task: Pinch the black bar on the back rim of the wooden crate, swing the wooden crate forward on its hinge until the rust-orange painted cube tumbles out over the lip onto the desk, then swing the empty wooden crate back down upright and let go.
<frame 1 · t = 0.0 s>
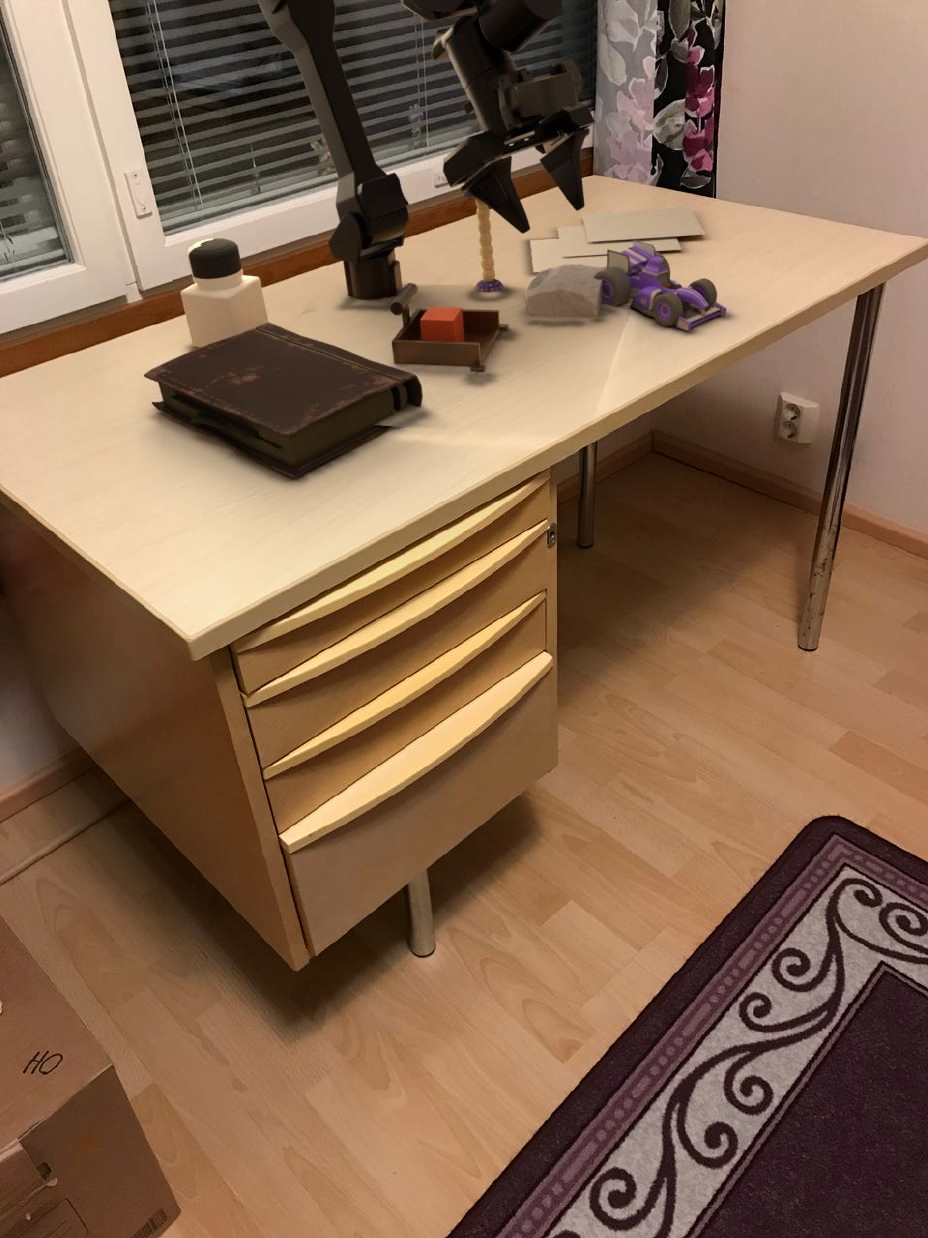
hand: (554, 219, 107), 15 cm above the table, tool tilted 35°, fingers open, 9 cm apart
paper stack: (615, 241, 146), on the table
hinge brackets: (448, 354, 118), on the table
medicine bottle: (232, 341, 127), on the table
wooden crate: (444, 322, 116), point 4 cm above the table, hinge at 0.0°, touching cube
stone block: (565, 307, 127), on the table, touching toy race car
diary: (284, 415, 109), on the table
toy lamp: (488, 294, 133), on the table
toy race car: (660, 310, 125), on the table, touching stone block
cube: (444, 346, 117), point 1 cm above the table, touching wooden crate
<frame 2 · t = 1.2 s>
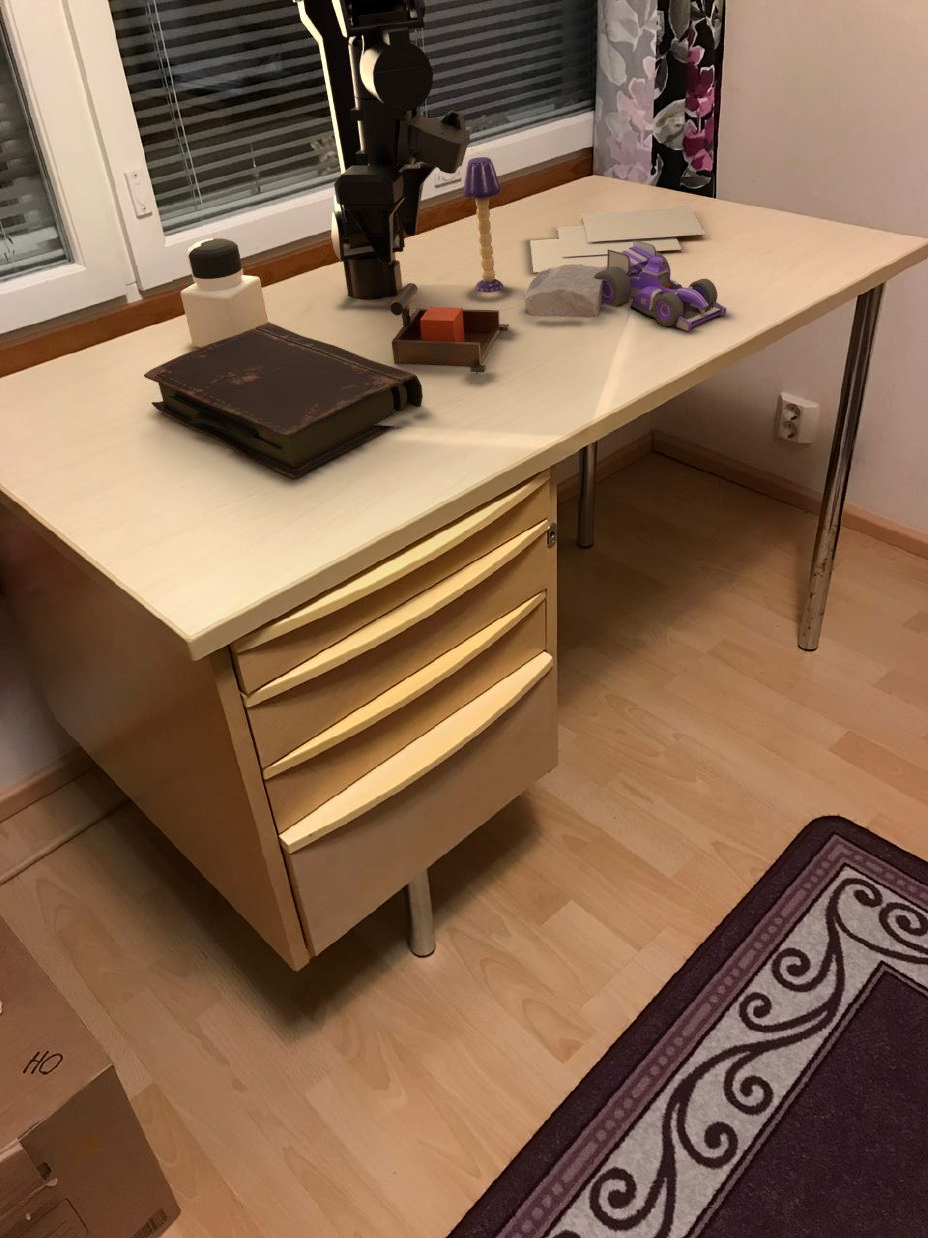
hand: (399, 248, 112), 12 cm above the table, tool pointing down, fingers open, 9 cm apart
nothing on the table moved.
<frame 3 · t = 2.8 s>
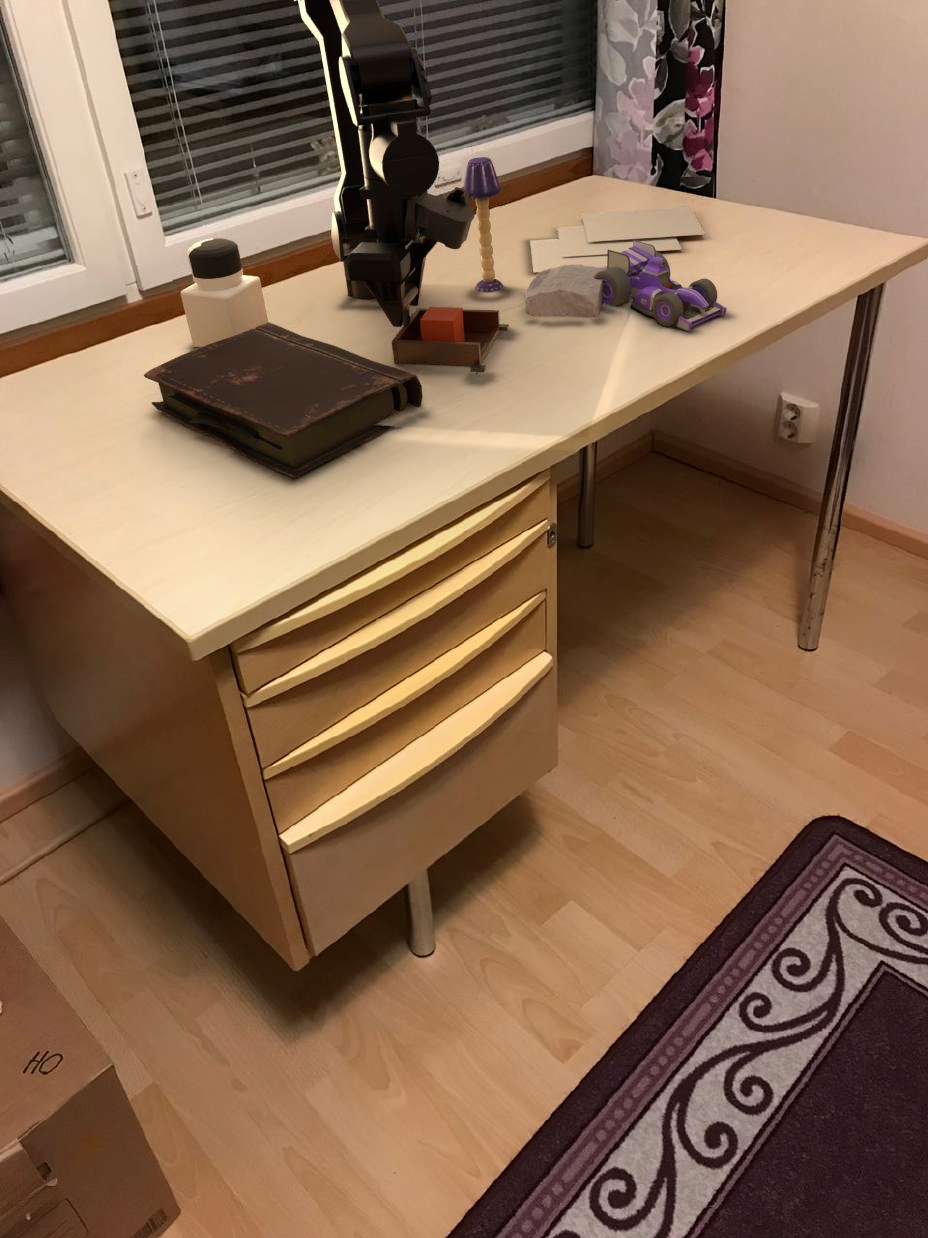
hand: (405, 315, 116), 5 cm above the table, tool pointing down, fingers closed on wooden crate, 6 cm apart
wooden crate: (444, 322, 116), point 4 cm above the table, hinge at 0.0°, touching cube, gripper
everything else where it was.
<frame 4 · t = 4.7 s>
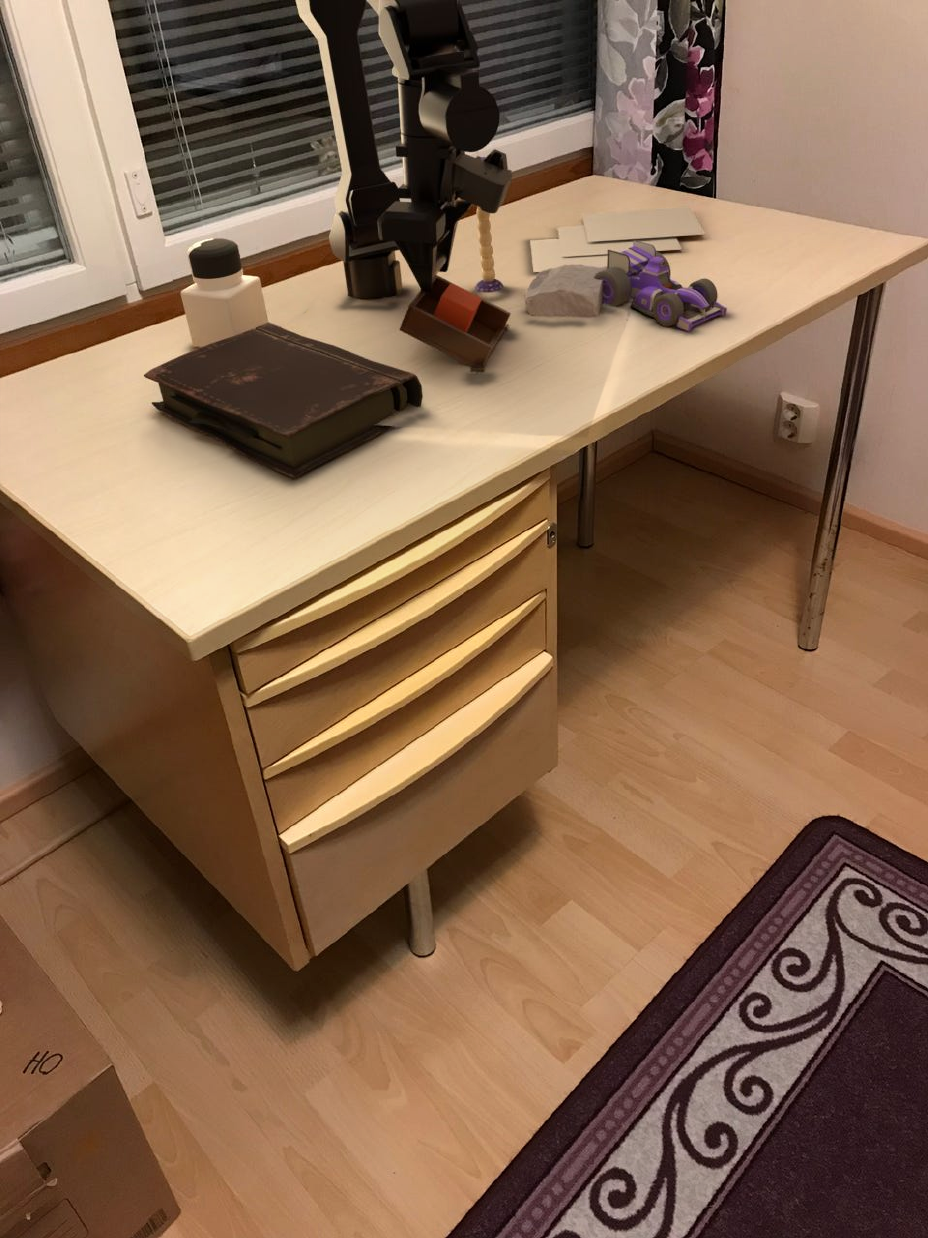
hand: (435, 281, 113), 9 cm above the table, tool pointing down, fingers closed on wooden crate, 6 cm apart
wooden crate: (460, 306, 114), point 6 cm above the table, hinge at 26.6°, touching cube, gripper
cube: (449, 326, 116), point 3 cm above the table, tilted 27°, touching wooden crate
everything else where it was.
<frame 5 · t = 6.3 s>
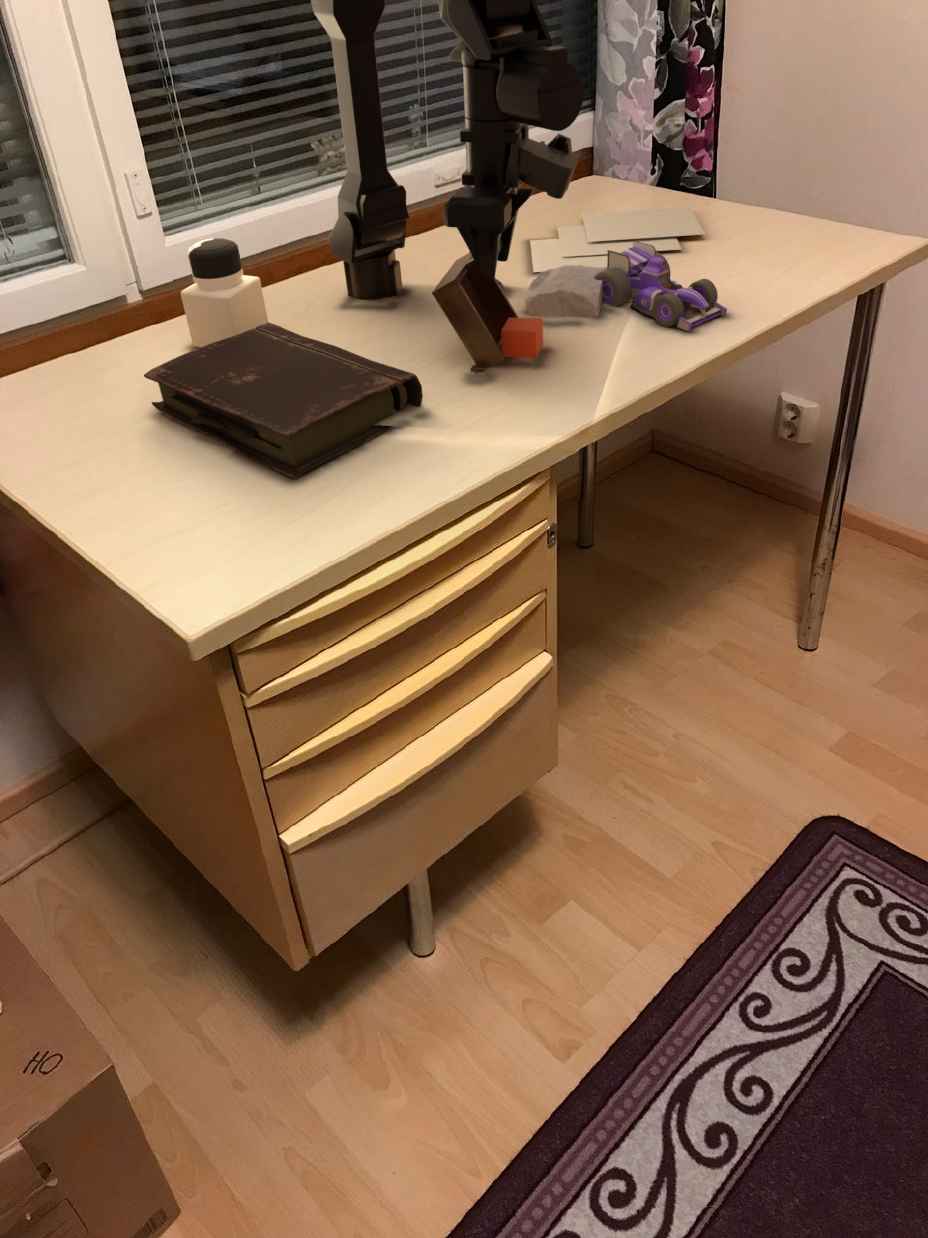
hand: (496, 270, 110), 10 cm above the table, tool pointing down, fingers closed on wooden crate, 6 cm apart
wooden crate: (491, 299, 112), point 7 cm above the table, hinge at 61.0°, touching gripper
cube: (521, 324, 113), point 4 cm above the table, tilted 180°
everything else where it was.
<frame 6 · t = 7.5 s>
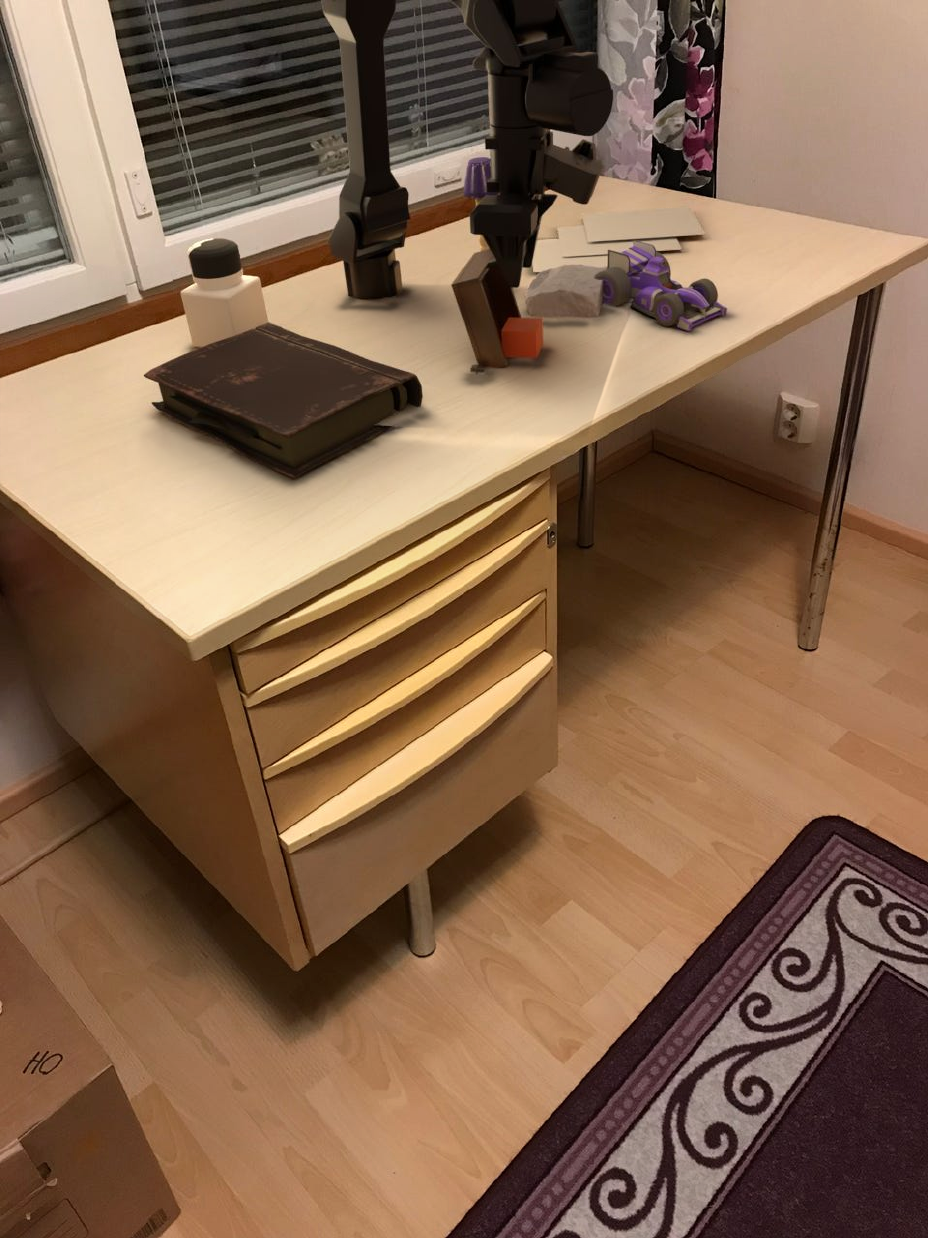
hand: (520, 276, 110), 9 cm above the table, tool pointing down, fingers closed on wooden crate, 6 cm apart
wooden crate: (505, 302, 112), point 6 cm above the table, hinge at 74.9°, touching gripper
everything else where it was.
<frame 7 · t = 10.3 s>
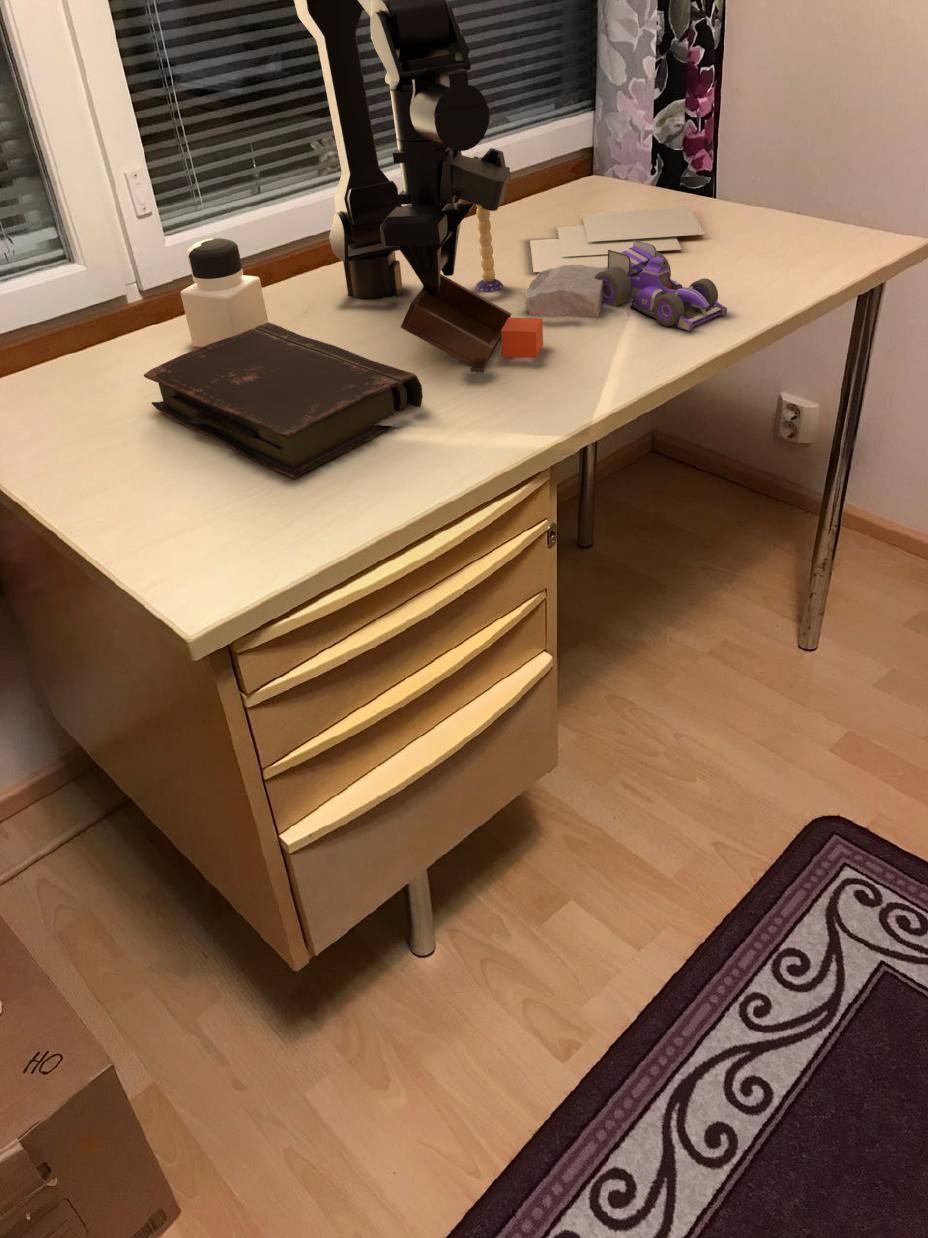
hand: (441, 284, 113), 8 cm above the table, tool pointing down, fingers closed on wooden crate, 6 cm apart
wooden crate: (462, 305, 114), point 6 cm above the table, hinge at 28.5°, touching gripper
everything else where it was.
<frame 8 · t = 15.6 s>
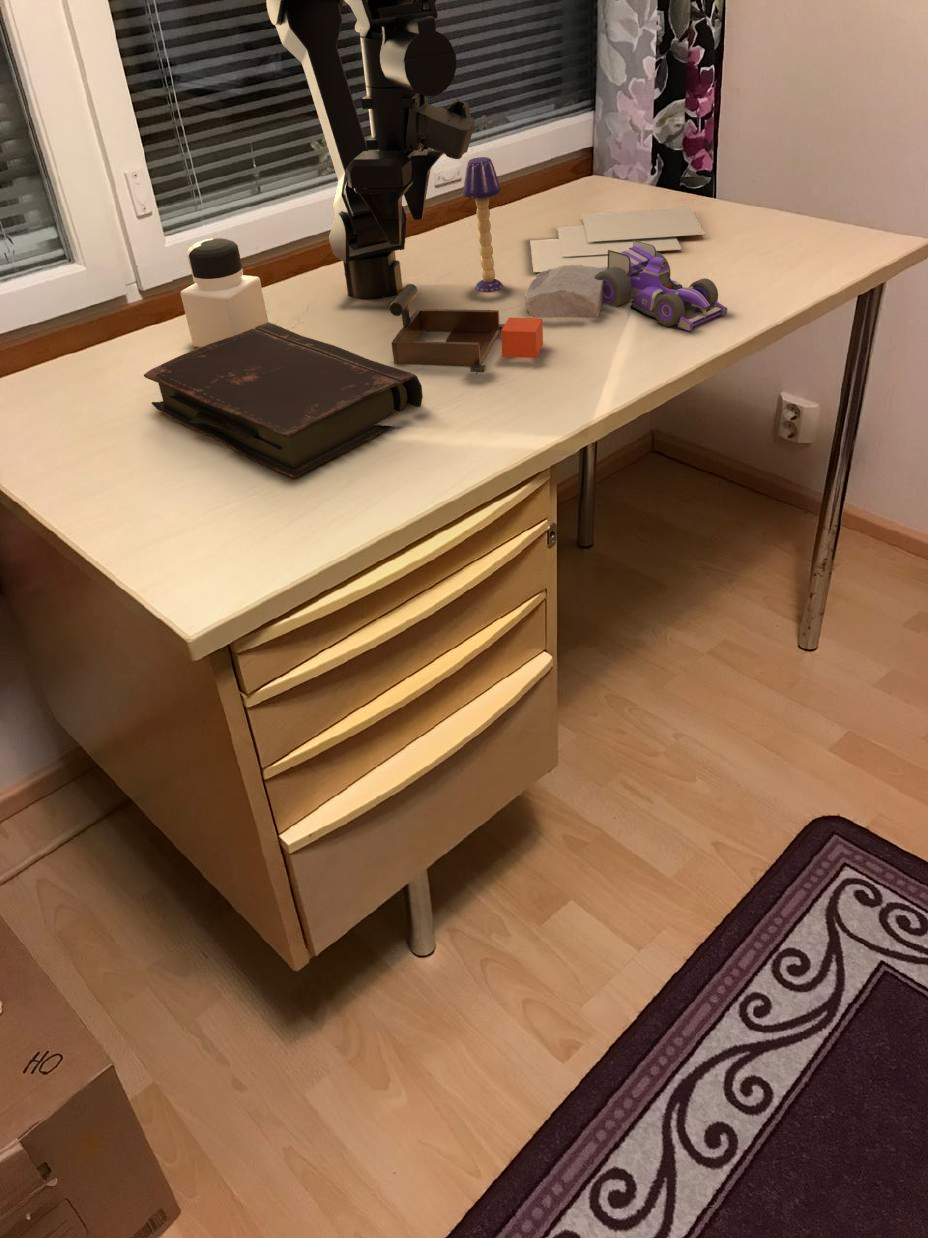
hand: (407, 231, 117), 12 cm above the table, tool pointing down, fingers open, 9 cm apart
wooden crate: (443, 323, 116), point 4 cm above the table, hinge at -0.5°
everything else where it was.
at the end: cube inside the target area (3.4 cm from its centre), point 4.0 cm above the table; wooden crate reached +75° during the clip, +0° at the end; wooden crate at +0° (first picture: +0°) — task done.
